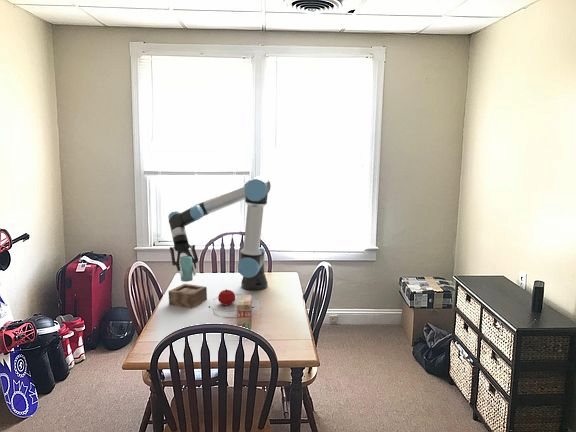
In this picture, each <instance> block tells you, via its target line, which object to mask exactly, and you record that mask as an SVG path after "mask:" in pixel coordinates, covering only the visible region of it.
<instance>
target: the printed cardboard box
mask: <svg viewBox="0 0 576 432" xmlns="http://www.w3.org/2000/svg"><path fill="white" fill-rule="evenodd" d="M252 304H253V301H252V295H251V294H245V295H244V294H243V295H241V294H239V295H237V302H236V318H237V325H238V326H242V327H245V328H248V329H251V330H252V317H253V313H252V312H253V309H252V308H253V306H252Z"/></svg>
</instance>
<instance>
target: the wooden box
mask: <svg viewBox="0 0 576 432" xmlns="http://www.w3.org/2000/svg"><path fill="white" fill-rule="evenodd" d="M207 300H208V288H207V286H203V285H196V284H191V283H190V284H189V283H183V284H180V285H178V286H176V287H175V288H172V289H170V290H168V304H169V305H170V306H176V307H181V308H188V309H194V308H195V307H196V306H199V305H200V304H202V303H204V302H205V301H207Z"/></svg>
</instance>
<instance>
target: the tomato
mask: <svg viewBox="0 0 576 432" xmlns="http://www.w3.org/2000/svg"><path fill="white" fill-rule="evenodd" d="M217 298H218V299H217V300H218V302H219V303H220V304H221V305H224V306H230V305H232V304H233V303H234V302H235V300H236V294H235V293H234V291H232V290H231V289H227V288H225V289H224V290H221V291H219V294H218V296H217Z"/></svg>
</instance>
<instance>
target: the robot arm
mask: <svg viewBox="0 0 576 432" xmlns="http://www.w3.org/2000/svg"><path fill="white" fill-rule="evenodd" d="M271 188H272V187H271V182H270V180H269V179H268V178H267V177H266V176H263V175H256V176H254V177H252V178H249V180H247V181H246V182H244V183H243V185H241V186H239V187H235V188H233V189H231V190H229V191H227V192H224V193H222V194H219V195H218V196H214V197H212V198H209V199H207V200H203V202H199V203H197V204H195V205H193V206H191V207H190V208H188V209H186V210H184V211H183V212H180V211H177V210H175V211H172V212H170V213H169V214H168V215H167V216H168V224H169V228H170V232H171V238H172V243H173V245H174V246H170V247H169V252H170V256H171V257H170V258H171V263H172V266H175V267H176V270H177V272H179V275H180V278H181V277H183V272H182V267H181V264H180V257H181V255H182V254H185V256H191V257H192V273H193V277H194V276H196V274H197V272H196V271H197V264H198V261H199V258H198V255H197V251H196V245H195V244H192V245H191V243H189V240H188V236H187V231H186V228H185V227H186V226H188V225H191V224H192V223H195V222H196V221H199V220H201V219H202V218H203V217H205V216H207V215H209V214H212V213H215V212H217V211H220V210H222V209H225V208H227V207H230V206H232V205H235V204H237V203H239V202H242V201H244V203H245V204H246V205H247V206H246V207H247V208H246V218H245V229H244V230H245V231H244V240H243V248H242V249H240V252H239V261H238V262H237V266H236V267H237V271H238V273H239V274H240V275H241V276H242V279H241V283H240V284H241V288H242V289H244V290H249V291H260V290H263V289H266V288H267V287H268V284H269V282H268V280H267V276H266V273H265V248H264V247H261V246H260V245H261V235H262V227H263V226H262V224H263V217H264V216H263V215H264V207H265V206H266V205H267V204H268V195H269V193H270V191H271ZM189 249H190V250H191V251H190V250H189ZM175 251H176V252H177V255H176V257H175ZM191 252H192V253H191ZM175 258H176V259H175Z"/></svg>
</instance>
